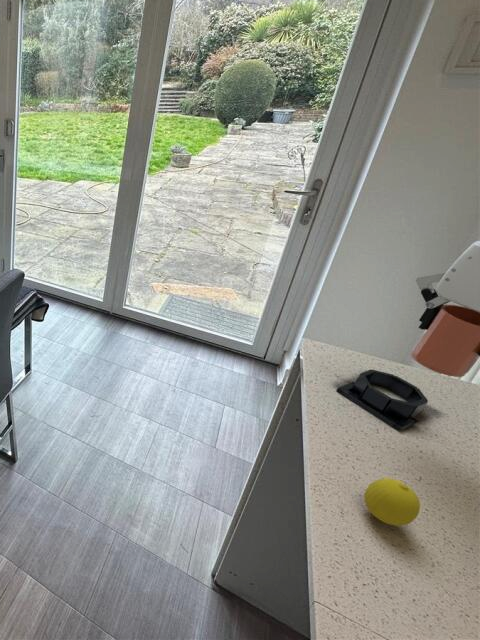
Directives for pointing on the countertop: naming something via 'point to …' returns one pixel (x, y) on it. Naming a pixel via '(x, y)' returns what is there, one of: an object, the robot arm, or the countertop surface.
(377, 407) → the cup holder
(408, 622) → the countertop surface
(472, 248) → the robot arm
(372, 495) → the lemon
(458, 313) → the cup
